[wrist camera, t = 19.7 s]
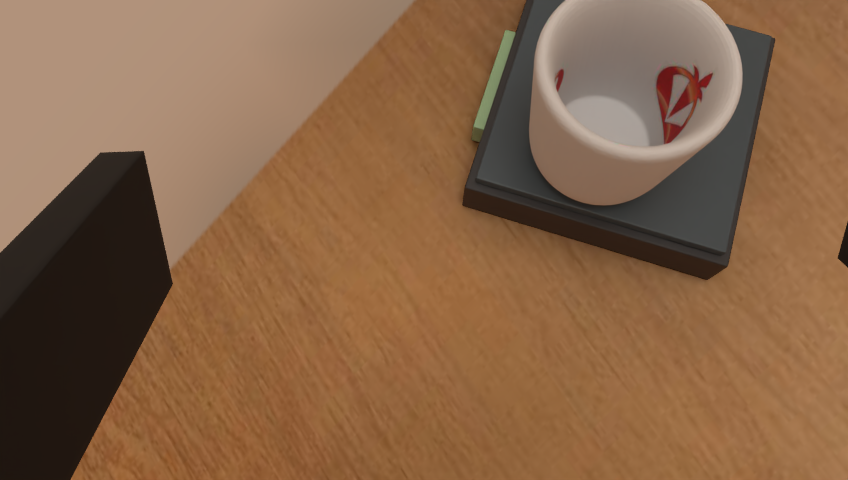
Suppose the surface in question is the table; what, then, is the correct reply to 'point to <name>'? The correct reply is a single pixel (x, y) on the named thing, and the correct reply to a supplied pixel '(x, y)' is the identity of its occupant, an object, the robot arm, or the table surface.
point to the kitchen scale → (633, 220)
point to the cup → (628, 93)
